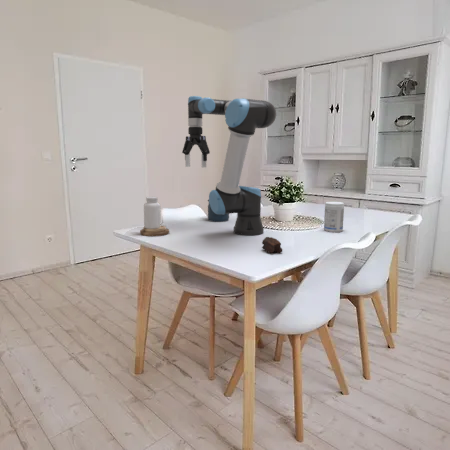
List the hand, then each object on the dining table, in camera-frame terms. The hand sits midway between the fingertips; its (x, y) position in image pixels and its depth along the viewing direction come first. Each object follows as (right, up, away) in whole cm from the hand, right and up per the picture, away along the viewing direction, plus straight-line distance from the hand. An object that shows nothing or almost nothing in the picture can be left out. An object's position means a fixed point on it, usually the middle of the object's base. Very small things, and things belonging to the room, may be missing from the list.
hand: (195, 167), depth 203 cm
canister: (+12, -29, +19) cm, 37 cm away
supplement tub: (+73, -35, -9) cm, 81 cm away
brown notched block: (+35, -43, -51) cm, 75 cm away
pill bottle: (-20, -33, -20) cm, 44 cm away
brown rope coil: (-19, -36, -19) cm, 45 cm away
